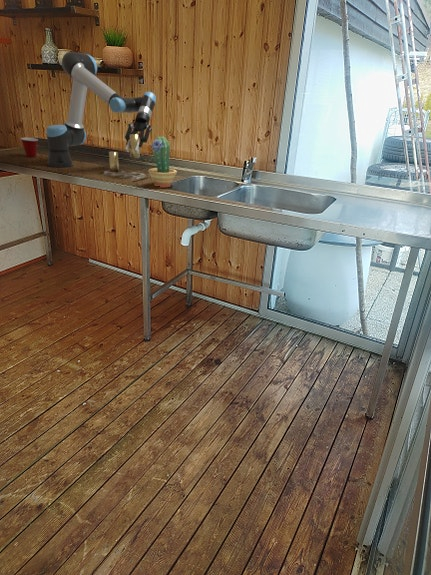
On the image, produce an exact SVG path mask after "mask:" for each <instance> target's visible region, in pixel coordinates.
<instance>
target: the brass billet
mask: <svg viewBox="0 0 431 575" xmlns="http://www.w3.org/2000/svg"><path fill="white" fill-rule="evenodd" d="M138 140H140V134H138V133H136V134H130V150H129V152H130V155H129V156H130V158H132V159H140V157H141V154H140V150H139V152H138V153H137V152H136V150H135V149H136V146H137V143H138Z"/></svg>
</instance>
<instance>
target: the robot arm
mask: <svg viewBox="0 0 431 575" xmlns="http://www.w3.org/2000/svg"><path fill="white" fill-rule="evenodd" d="M97 64H98V63H97V62H96V60H95V58H94V57H93V56H91V55H90V54H88V53H83V52H75V51H68V52H66V53H64V55H63V56H62V58H61V66H62V69H63V71H64V72H65V73H66V74H67V75H68V76H69V77H70V78H72V86H71V94H70V101H69V108H68V116H67V119H66V120H65V121H64V124H52V125H51V124H50V125H48V126H46V130H45V131H46V140H47V146H48V156H47V161H46V164H47V166H48V167H51V168H68V167H72V166H74V162H73V160H72V158H71V157H72V156H71V154H70V151H69V147H77V146H81V145H83V144H84V143H85V142H86V139H87V132H86V130H85V125H83V120H84V119H83V118H84V113H85V112H84V111H85V106H86V101H87V100H86V99H87V94H88V89H89V90H90V91H91V92H93V94H95V95H96V96H97V97H99V98H100V99H101V100H103V101H104V102H105V103H107V105H109V108H110V110H111V111H112V112H114V113H118V114H121V113H122V114H123V113H127V114H129V113H130V114H132V113H136V116H135V119H134V122H133V123H132V124H131V123H128V125H127V126H128V127H127V130H126V132H125V136H124V138H125V140H126V144H125V145H126V147H125V150H126V153H129V152H130V134H138V133H139V132H140V134H139V140H138V143H137V146H136V149H135V150H136V152H137V153H138V152H139V151H140V148H143V144H144V143H147V142H148V140H149V137H150V133H151V131H152V130H153V128H152V126H151V125H150V124H149V123H150V120H151V118H152V114H153V111H154V108H155V106H156V102H157V96H156V94H154V93H153V92H151V91H146V92H144V93H143V95H142V96H139V97H122V96H121V95H120V94H118V93H117V92H116V91H115V90H113V89H112V88H111V87H110V86H109V85H107V84H106V83H104V82H103V81H102V80H101V79H100V78H98V77H97V76H96V74H97V72H98V65H97Z"/></svg>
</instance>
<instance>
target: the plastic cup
mask: <svg viewBox="0 0 431 575" xmlns="http://www.w3.org/2000/svg"><path fill="white" fill-rule="evenodd" d="M20 140H21V142H22V145H23V150H24V151H25V154H26V157H27V158H36V157H37V151H38V141H39V139H38V138H35V137H20Z"/></svg>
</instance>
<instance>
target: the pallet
mask: <svg viewBox="0 0 431 575" xmlns="http://www.w3.org/2000/svg"><path fill="white" fill-rule="evenodd" d="M100 175H102V176H106V177H112V178H120V179H125V180H132V183H136V182H140V181H143V180H144V181H145V180H147V179H149V176H148V175H146V174H145V173H140V172H133V171H132V172H126V171H125V170H121V169H119V172H117V173H114V172H110V169H108V170H103V173H102V174H100Z"/></svg>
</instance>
